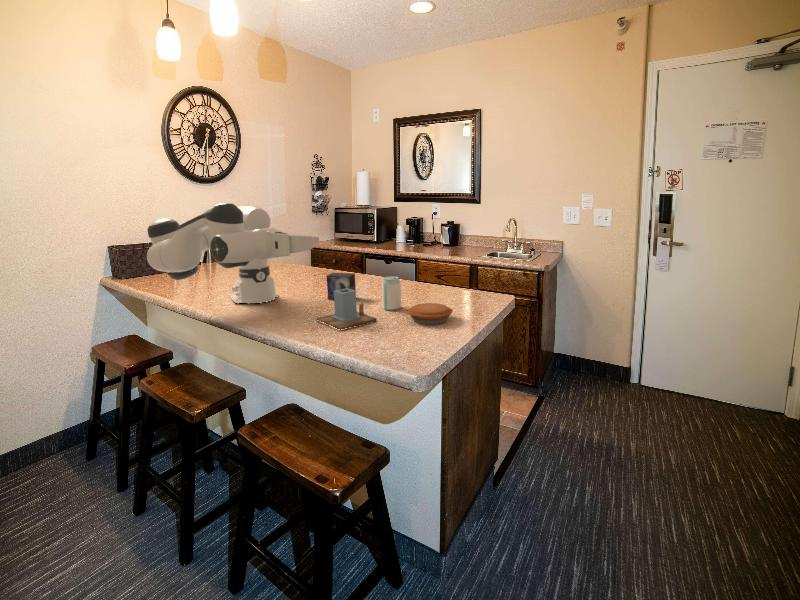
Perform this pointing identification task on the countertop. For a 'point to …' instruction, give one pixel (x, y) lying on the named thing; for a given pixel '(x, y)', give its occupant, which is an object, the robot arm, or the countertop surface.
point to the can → (391, 293)
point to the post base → (357, 322)
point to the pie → (430, 313)
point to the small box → (339, 282)
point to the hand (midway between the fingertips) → (309, 238)
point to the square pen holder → (345, 305)
